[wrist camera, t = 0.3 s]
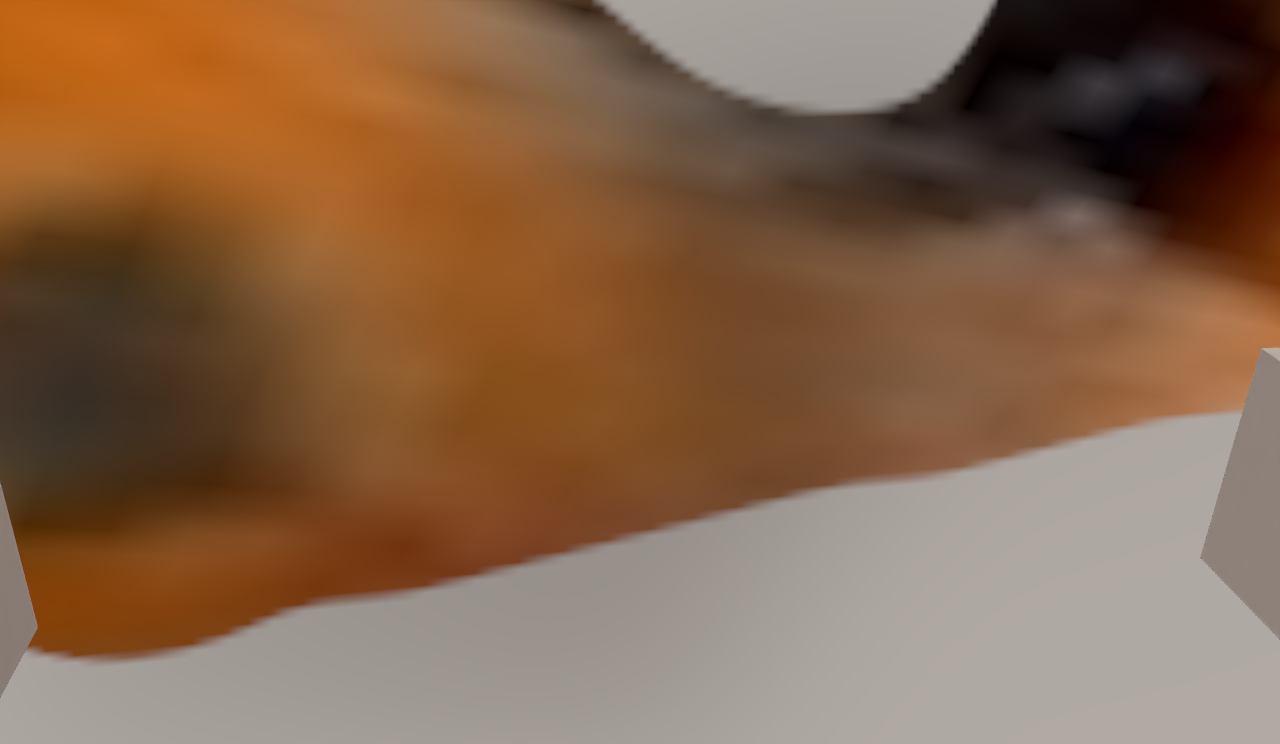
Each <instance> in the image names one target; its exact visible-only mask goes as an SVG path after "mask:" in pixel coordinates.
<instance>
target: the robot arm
mask: <svg viewBox="0 0 1280 744" xmlns="http://www.w3.org/2000/svg"><path fill="white" fill-rule="evenodd" d="M1200 558H1201V559H1202V560H1203V561H1204V562H1205V563H1206V564H1207V565H1208V566H1209V567H1210V568H1211V569H1212V570H1213V571H1214V572H1215V573H1216V574H1217V575H1218V576H1219V577H1220V578H1221V580H1222V581H1223V582H1224V583H1225V584H1226V585H1227V586H1228V587H1229V588H1230V589H1231V590H1232V591H1233V592H1234V593H1235V594H1236V595H1237V596H1238V597H1239V598H1240V599H1241V600H1242V601H1243V602H1244V603H1245V604H1246V605H1247V606H1248V607H1249V608H1250V609H1251V610H1252V611H1253V612H1254V613H1255V615H1257V617H1258V618H1259V619H1261V621H1262V622H1263V623H1264V624H1265V625H1266V626H1267V627H1268V628H1269V629H1270V630H1271V631H1272V632H1273V633H1274V634H1275V635H1276V636H1277V637H1278V638H1279V639H1280V348H1261V351H1260V354H1259V358H1258V361H1257V364H1256V368H1255V371H1254V375H1253V378H1252V382H1251V385H1250V388H1249V392H1248V395H1247V399H1246V402H1245V406H1244V409H1243V413H1242V416H1241V419H1240V423H1239V426H1238V430H1237V433H1236V437H1235V440H1234V444H1233V447H1232V450H1231V454H1230V457H1229V461H1228V464H1227V468H1226V471H1225V474H1224V478H1223V482H1222V485H1221V488H1220V492H1219V495H1218V498H1217V502H1216V506H1215V509H1214V512H1213V516H1212V519H1211V523H1210V526H1209V529H1208V533H1207V536H1206V540H1205V543H1204V547H1203V550H1202V554H1201V557H1200ZM37 628H38V626H37V622H36V618H35V614H34V610H33V607H32V603H31V599H30V595H29V591H28V587H27V583H26V580H25V576H24V572H23V568H22V564H21V560H20V556H19V553H18V549H17V545H16V541H15V537H14V533H13V529H12V526H11V522H10V518H9V514H8V510H7V506H6V502H5V499H4V495H3V491H2V487H1V483H0V697H1V695H2V693H3V691H4V689H5V688H6V686H7V684H8V682H9V680H10V678H11V676H12V675H13V673H14V671H15V669H16V667H17V665H18V663H19V662H20V660H21V658H22V656H23V654H24V652H25V650H26V648H27V647H28V645H29V643H30V641H31V639H32V637H33V635H34V634H35V632H36V630H37Z"/></svg>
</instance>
